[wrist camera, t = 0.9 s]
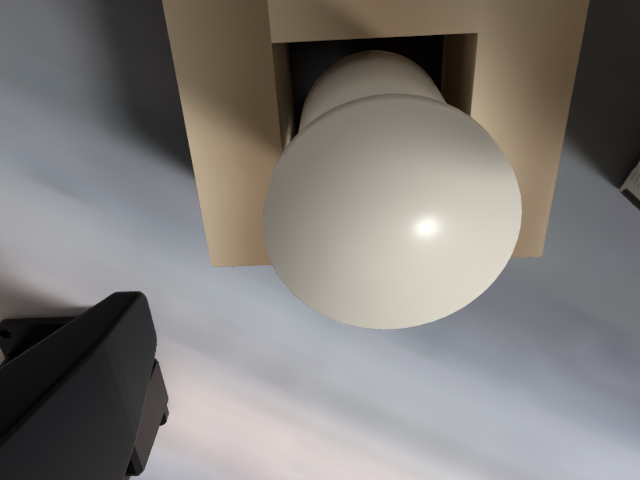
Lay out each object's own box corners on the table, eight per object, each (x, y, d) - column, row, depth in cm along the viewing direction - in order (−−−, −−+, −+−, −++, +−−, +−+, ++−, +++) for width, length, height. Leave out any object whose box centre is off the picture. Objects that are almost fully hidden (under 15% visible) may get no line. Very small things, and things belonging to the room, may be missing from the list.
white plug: (293, 202, 17) (275, 331, 11) (279, 38, 14) (247, 110, 9) (451, 197, 16) (504, 326, 11) (465, 29, 14) (541, 96, 9)
